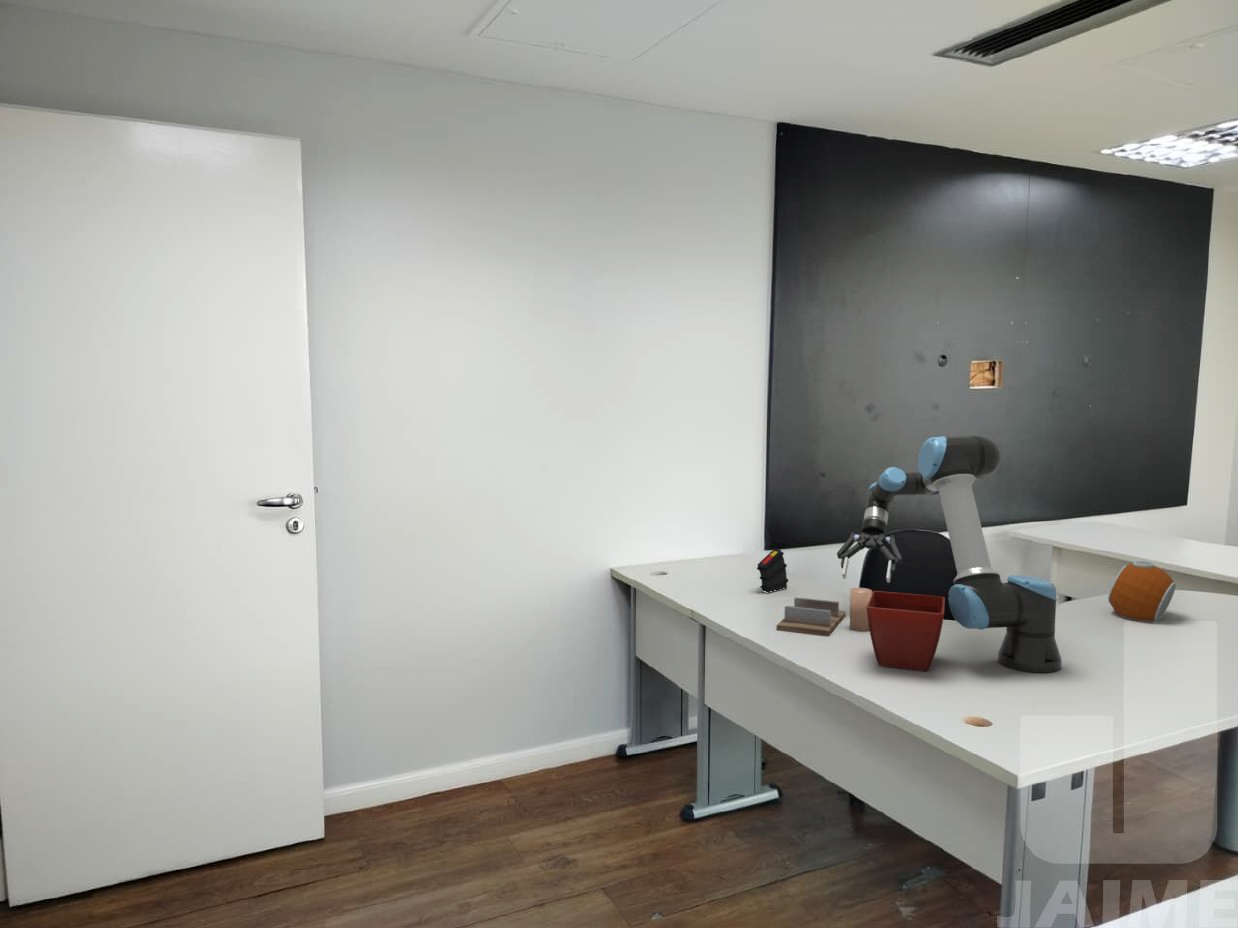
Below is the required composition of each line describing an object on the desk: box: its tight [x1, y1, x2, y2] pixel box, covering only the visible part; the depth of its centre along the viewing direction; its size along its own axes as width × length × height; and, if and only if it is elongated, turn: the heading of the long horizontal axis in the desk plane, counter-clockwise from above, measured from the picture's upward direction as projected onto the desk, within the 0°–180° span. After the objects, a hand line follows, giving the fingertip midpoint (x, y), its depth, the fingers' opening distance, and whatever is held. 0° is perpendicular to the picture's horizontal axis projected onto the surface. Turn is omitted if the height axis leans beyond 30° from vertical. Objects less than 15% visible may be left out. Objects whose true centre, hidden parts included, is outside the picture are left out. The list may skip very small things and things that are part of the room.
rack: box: [776, 597, 847, 637], centre depth 267 cm, size 24×16×6 cm, turn 154°
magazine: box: [756, 548, 789, 592], centre depth 309 cm, size 4×13×15 cm, turn 130°
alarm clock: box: [1107, 560, 1177, 622], centre depth 269 cm, size 19×18×17 cm
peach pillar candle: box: [849, 587, 873, 633], centre depth 260 cm, size 6×6×12 cm
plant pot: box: [867, 590, 946, 672], centre depth 228 cm, size 19×19×17 cm
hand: (865, 578), depth 268 cm, fingers open, 13 cm apart
